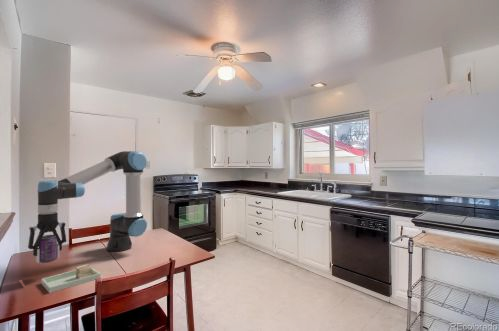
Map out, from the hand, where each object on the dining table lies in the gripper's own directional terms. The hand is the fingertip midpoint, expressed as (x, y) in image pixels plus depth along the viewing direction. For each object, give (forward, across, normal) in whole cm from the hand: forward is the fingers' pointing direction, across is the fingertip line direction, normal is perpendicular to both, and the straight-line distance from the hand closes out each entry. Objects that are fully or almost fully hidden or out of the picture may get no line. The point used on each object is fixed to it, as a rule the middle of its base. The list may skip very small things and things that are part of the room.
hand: (47, 259), depth 124 cm
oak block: (+9, +11, -13) cm, 19 cm away
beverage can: (+1, 0, 0) cm, 1 cm away
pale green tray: (+9, +6, -13) cm, 17 cm away
